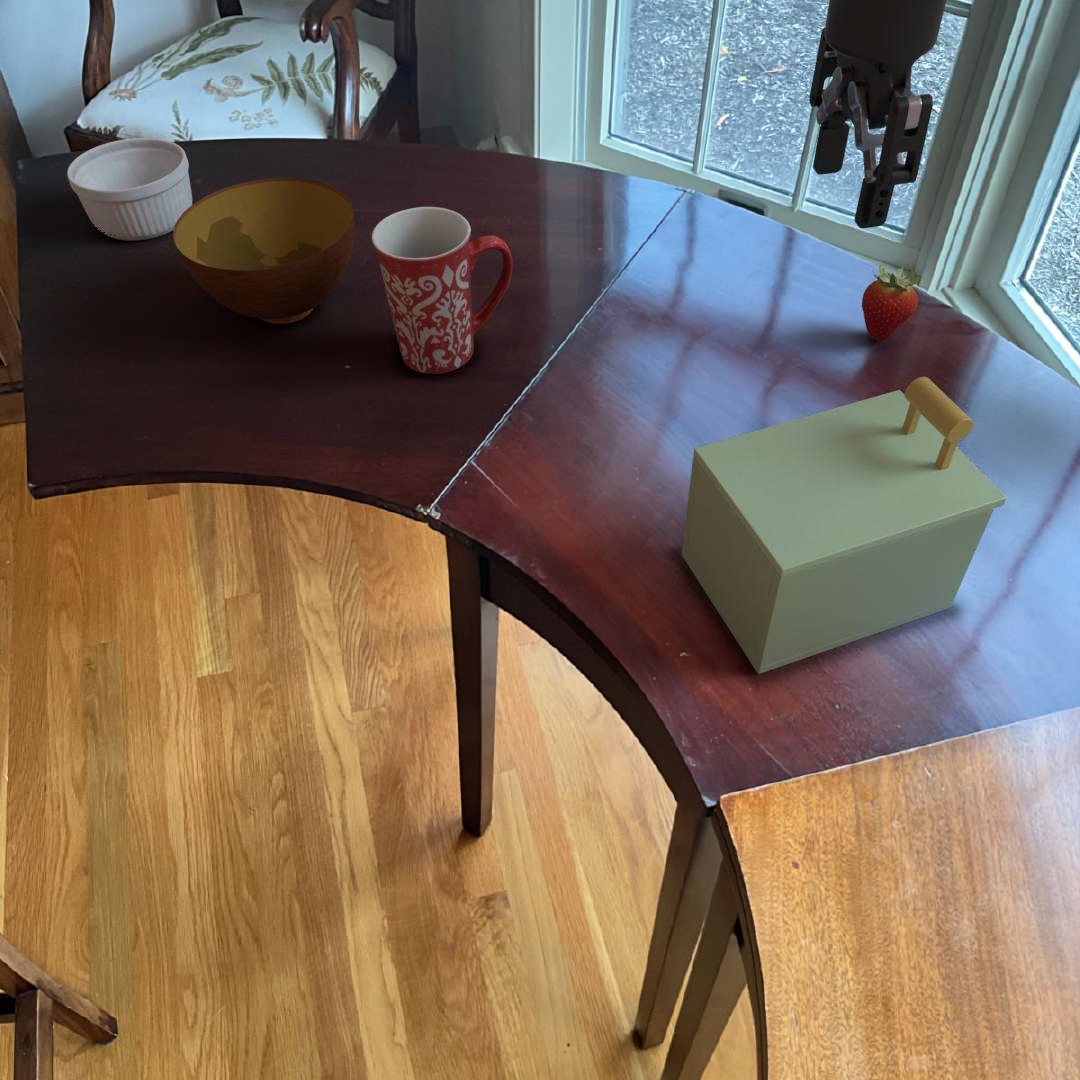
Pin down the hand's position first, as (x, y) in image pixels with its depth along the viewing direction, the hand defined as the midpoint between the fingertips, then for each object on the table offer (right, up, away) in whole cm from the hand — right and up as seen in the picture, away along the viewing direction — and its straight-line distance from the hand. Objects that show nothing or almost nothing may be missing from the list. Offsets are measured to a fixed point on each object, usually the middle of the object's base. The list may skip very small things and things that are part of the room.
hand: (846, 197), depth 77 cm
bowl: (-51, -2, +29) cm, 58 cm away
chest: (-2, -30, +1) cm, 30 cm away
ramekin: (-71, +12, +42) cm, 83 cm away
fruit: (+10, -7, +22) cm, 25 cm away
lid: (-2, -22, -7) cm, 24 cm away
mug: (-32, -8, +23) cm, 40 cm away
